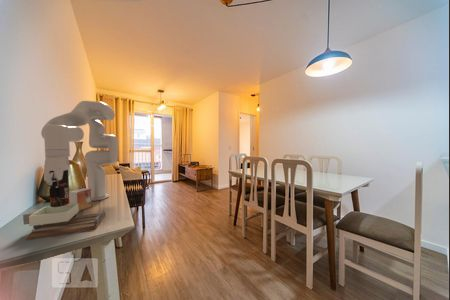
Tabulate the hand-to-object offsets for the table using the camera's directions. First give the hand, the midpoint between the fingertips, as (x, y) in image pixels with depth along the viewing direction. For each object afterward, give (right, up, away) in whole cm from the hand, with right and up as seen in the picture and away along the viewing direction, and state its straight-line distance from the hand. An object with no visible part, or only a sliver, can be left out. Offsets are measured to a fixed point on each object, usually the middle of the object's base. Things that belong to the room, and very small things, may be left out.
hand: (59, 194), depth 73 cm
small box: (-9, -14, +21) cm, 27 cm away
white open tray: (-3, -12, 0) cm, 13 cm away
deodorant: (0, -5, 0) cm, 5 cm away
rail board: (+3, -15, +2) cm, 15 cm away
